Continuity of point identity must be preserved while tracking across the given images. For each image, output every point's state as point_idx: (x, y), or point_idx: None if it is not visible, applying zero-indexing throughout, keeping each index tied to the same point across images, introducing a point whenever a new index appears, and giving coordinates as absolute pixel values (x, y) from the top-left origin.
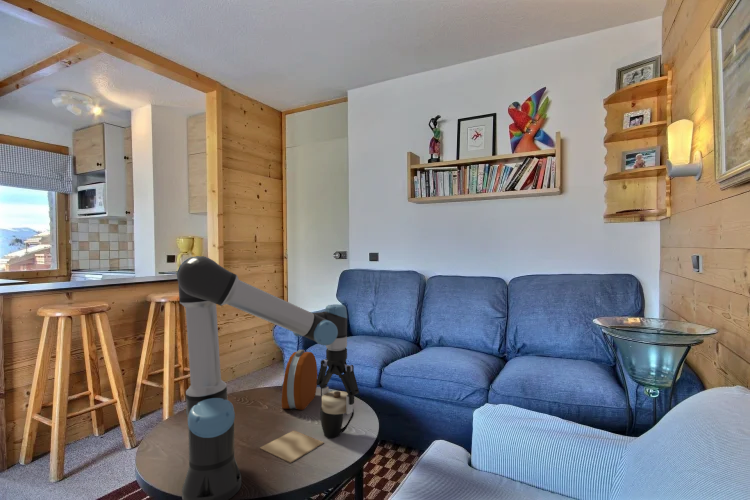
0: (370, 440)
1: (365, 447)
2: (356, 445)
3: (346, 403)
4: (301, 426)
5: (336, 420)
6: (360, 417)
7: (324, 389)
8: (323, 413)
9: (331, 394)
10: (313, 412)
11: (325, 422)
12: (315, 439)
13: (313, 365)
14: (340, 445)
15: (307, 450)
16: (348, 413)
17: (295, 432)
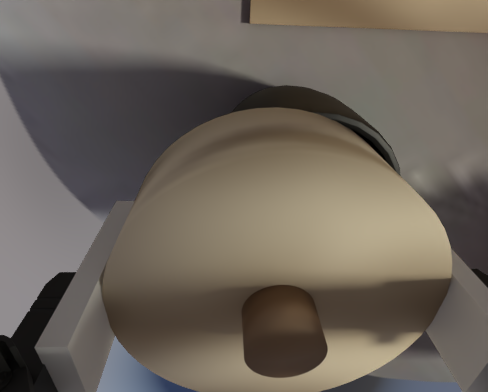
0: (78, 188)
1: (38, 124)
2: (88, 114)
3: (100, 264)
4: (481, 106)
5: None
6: None
7: (485, 339)
8: (320, 107)
9: (370, 317)
10: (482, 240)
11: (284, 90)
12: (315, 19)
13: None
14: (154, 63)
15: None
16: (115, 210)
17: (484, 15)
